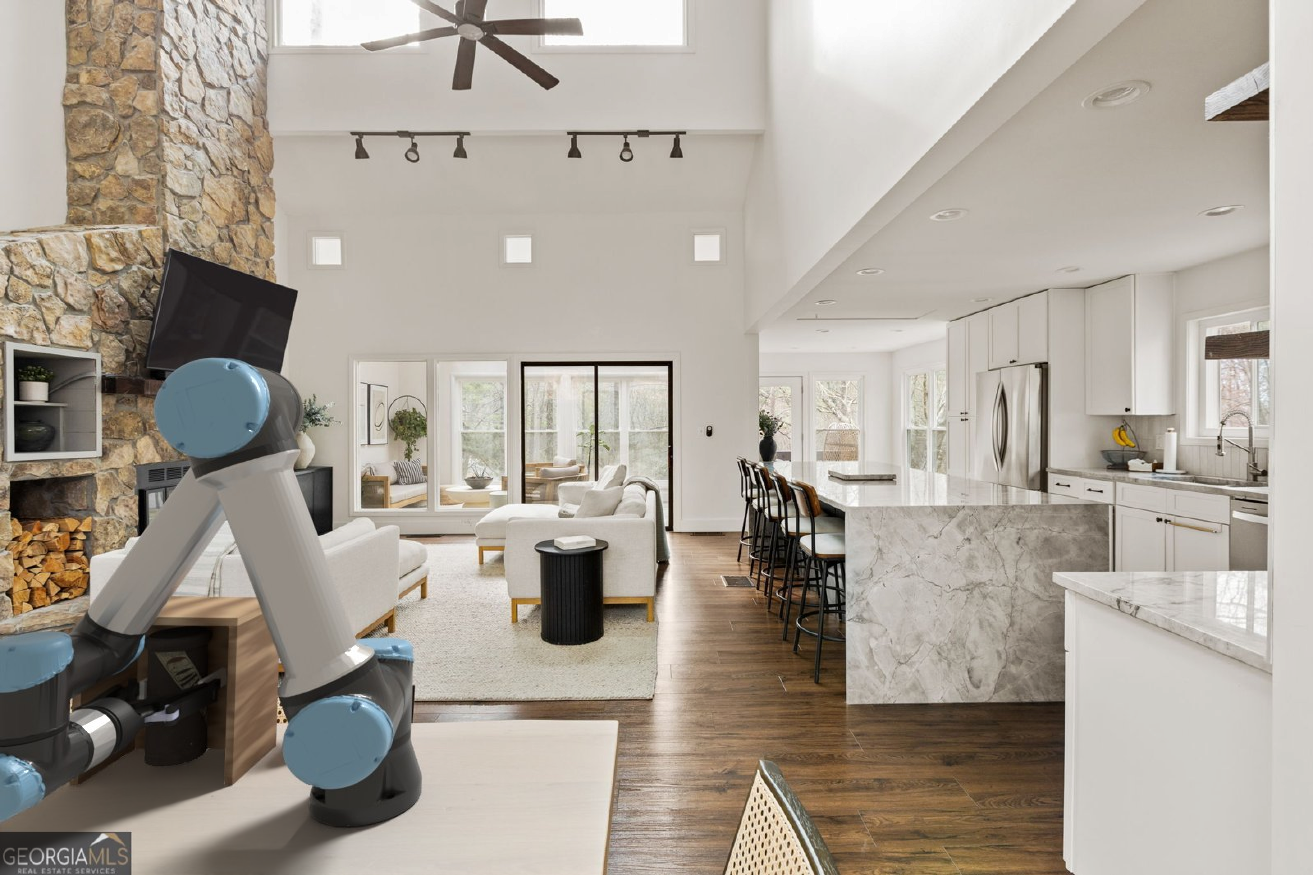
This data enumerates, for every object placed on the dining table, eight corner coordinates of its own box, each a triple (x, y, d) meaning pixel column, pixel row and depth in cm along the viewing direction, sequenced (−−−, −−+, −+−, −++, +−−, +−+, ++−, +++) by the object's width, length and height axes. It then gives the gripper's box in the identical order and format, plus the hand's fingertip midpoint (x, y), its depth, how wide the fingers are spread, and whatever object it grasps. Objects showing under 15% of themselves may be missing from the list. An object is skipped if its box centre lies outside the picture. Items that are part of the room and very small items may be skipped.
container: (175, 772, 101) (178, 639, 102) (126, 765, 103) (129, 634, 103) (222, 747, 110) (226, 624, 110) (176, 741, 112) (179, 620, 112)
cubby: (276, 745, 115) (280, 597, 115) (232, 785, 102) (237, 618, 102) (132, 745, 113) (137, 595, 114) (69, 785, 100) (75, 616, 100)
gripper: (5, 765, 88) (130, 698, 111) (171, 764, 89) (261, 698, 112) (6, 707, 88) (131, 652, 111) (173, 707, 89) (262, 653, 112)
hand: (196, 675), depth 111 cm, fingers closed on container, 8 cm apart
